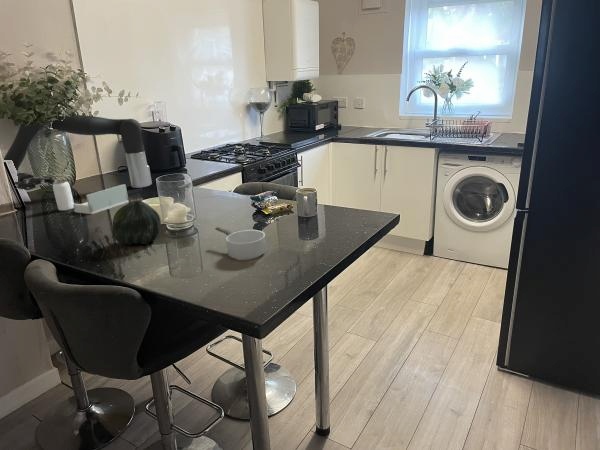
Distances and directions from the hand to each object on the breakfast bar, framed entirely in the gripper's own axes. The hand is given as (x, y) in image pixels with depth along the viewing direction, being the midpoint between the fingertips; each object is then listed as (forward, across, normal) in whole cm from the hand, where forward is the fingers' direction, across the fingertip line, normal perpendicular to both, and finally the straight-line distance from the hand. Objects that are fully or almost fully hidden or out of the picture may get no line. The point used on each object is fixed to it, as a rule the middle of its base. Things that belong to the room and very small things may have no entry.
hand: (44, 183), depth 199 cm
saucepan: (+115, -15, +10) cm, 117 cm away
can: (+12, 0, +11) cm, 16 cm away
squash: (+79, -20, +10) cm, 82 cm away
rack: (+26, +7, +10) cm, 29 cm away
